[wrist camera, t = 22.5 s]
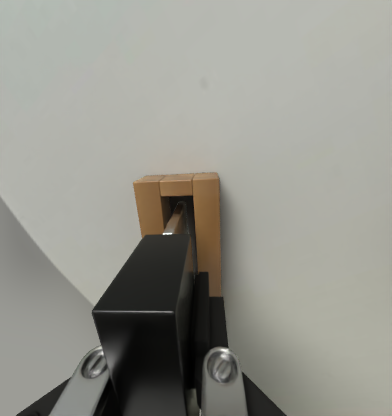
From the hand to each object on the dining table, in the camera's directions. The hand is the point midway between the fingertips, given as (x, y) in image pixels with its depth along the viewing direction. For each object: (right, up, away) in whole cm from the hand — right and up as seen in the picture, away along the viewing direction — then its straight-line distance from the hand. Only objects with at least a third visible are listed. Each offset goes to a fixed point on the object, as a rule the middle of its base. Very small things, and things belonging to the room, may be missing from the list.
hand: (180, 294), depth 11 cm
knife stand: (0, +2, +5) cm, 5 cm away
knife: (0, +1, +3) cm, 4 cm away
